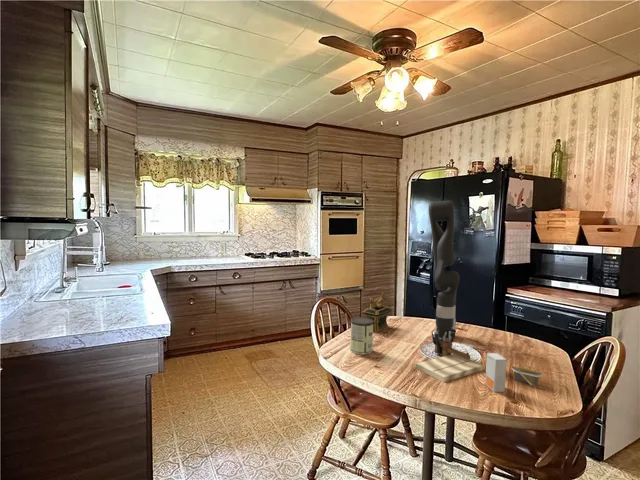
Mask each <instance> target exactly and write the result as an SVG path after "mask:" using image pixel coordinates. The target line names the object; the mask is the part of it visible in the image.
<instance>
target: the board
mask: <svg viewBox="0 0 640 480" xmlns="http://www.w3.org/2000/svg"><path fill="white" fill-rule="evenodd" d="M484 367H485V366H484V364H482V363H479V362H477V361H475V360H473V359H471V358H470V359H468V360H467V359H464V358H462V357H459V356H457V355H454V354H451V355H447V356H440V357H436V358H432V359H427V360H424V361H421V362H417V363H415V369H417V370H419V372H420V371H421V372H422V373H424V374H427V375H428V376H431V377H433V378H435V379H436V380H439V381H441V382H442V383H445V382H449V381H453V380H456V379H459V378H462V377H465V376H469V375H471V374H475V373H478V372H481V371H484Z"/></svg>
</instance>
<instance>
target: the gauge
mask: <svg viewBox="0 0 640 480" xmlns="http://www.w3.org/2000/svg"><path fill="white" fill-rule="evenodd" d="M440 339H442V338H440ZM440 342H441V341H439V343H440ZM434 353H436V354H438V353H437V345H435V344H434ZM451 354H454V355H457V356H459V357H462V358H464V359H467V360H468V359H470V360H471V355H470V353H469V352H463V351H461V350H458V349H455V348H453V343H452V342H450V341H447V340H444V342H443V345H442V354H441V355H440V354H438V355H439V356H441V357H443V356H447V355H451Z"/></svg>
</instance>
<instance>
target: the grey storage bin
mask: <svg viewBox="0 0 640 480" xmlns="http://www.w3.org/2000/svg"><path fill="white" fill-rule="evenodd" d="M511 370H513V371H514V375H513V380H514V381H517V382H520V383H521V382H522V383H525V384H529V385H530V386H539V378H540V377H543V373H542V372H540V371H537V368H536V367H535V368H533V367H530V366H529V367H528V366H525V365H518V367H516V366H511Z"/></svg>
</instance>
